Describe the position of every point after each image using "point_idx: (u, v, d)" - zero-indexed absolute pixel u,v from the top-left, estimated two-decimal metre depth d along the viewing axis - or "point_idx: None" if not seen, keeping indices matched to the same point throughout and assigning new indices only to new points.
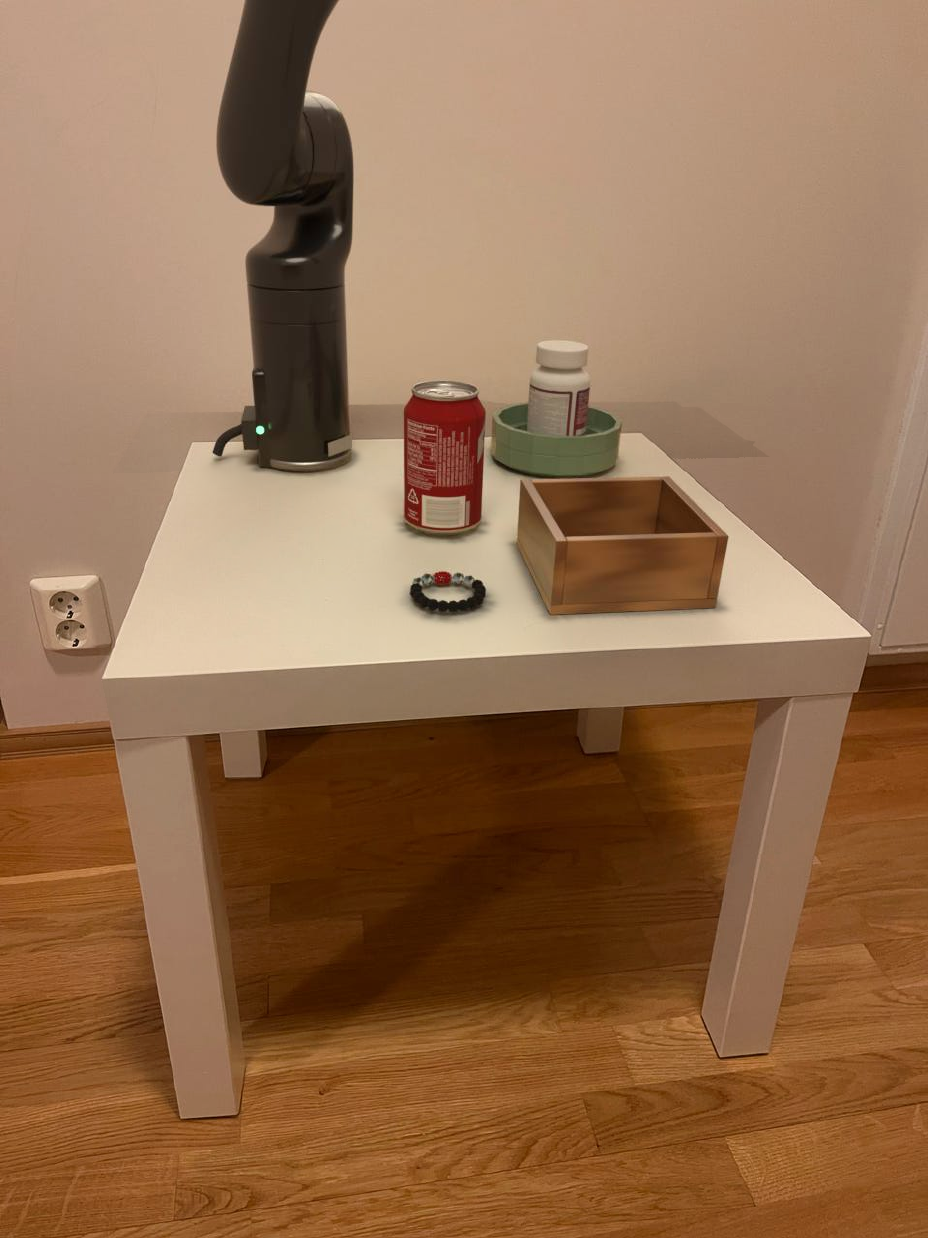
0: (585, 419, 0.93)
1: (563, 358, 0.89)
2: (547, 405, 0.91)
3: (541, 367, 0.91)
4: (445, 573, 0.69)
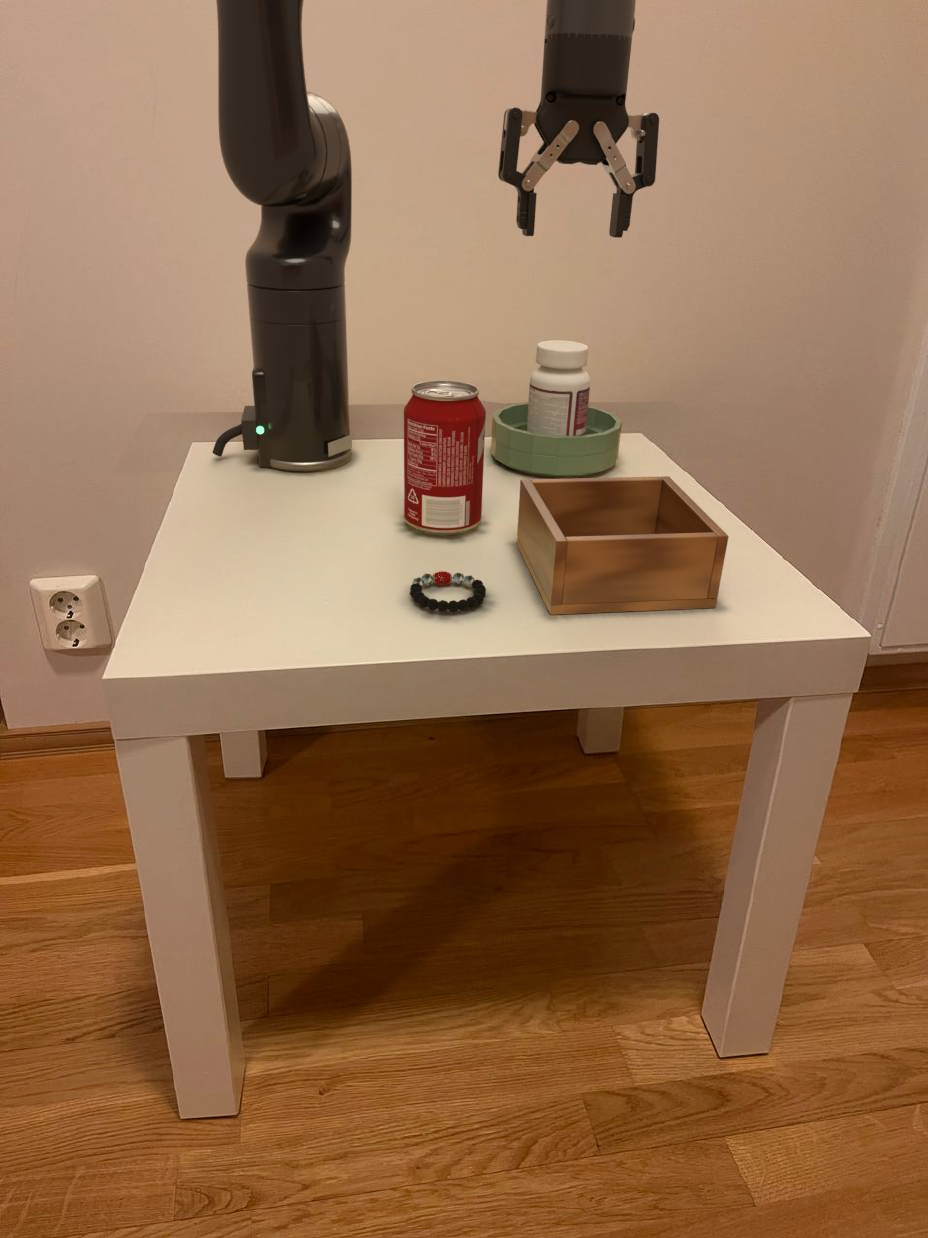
0: (585, 419, 0.93)
1: (563, 358, 0.89)
2: (547, 405, 0.91)
3: (541, 367, 0.91)
4: (445, 573, 0.69)
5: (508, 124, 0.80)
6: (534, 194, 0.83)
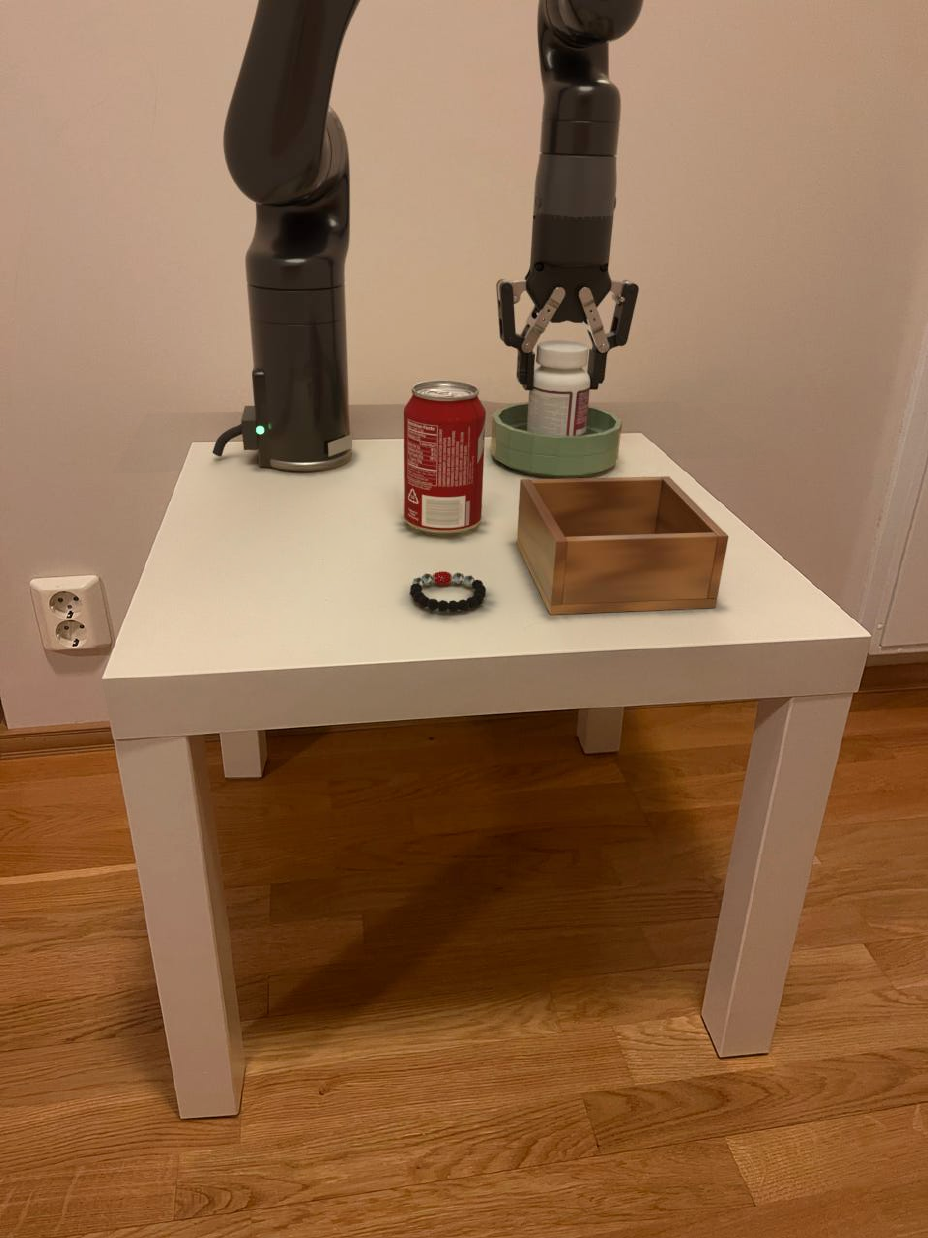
0: (585, 419, 0.93)
1: (563, 358, 0.89)
2: (547, 405, 0.91)
3: (541, 367, 0.91)
4: (445, 573, 0.69)
5: (501, 298, 0.87)
6: (533, 355, 0.90)
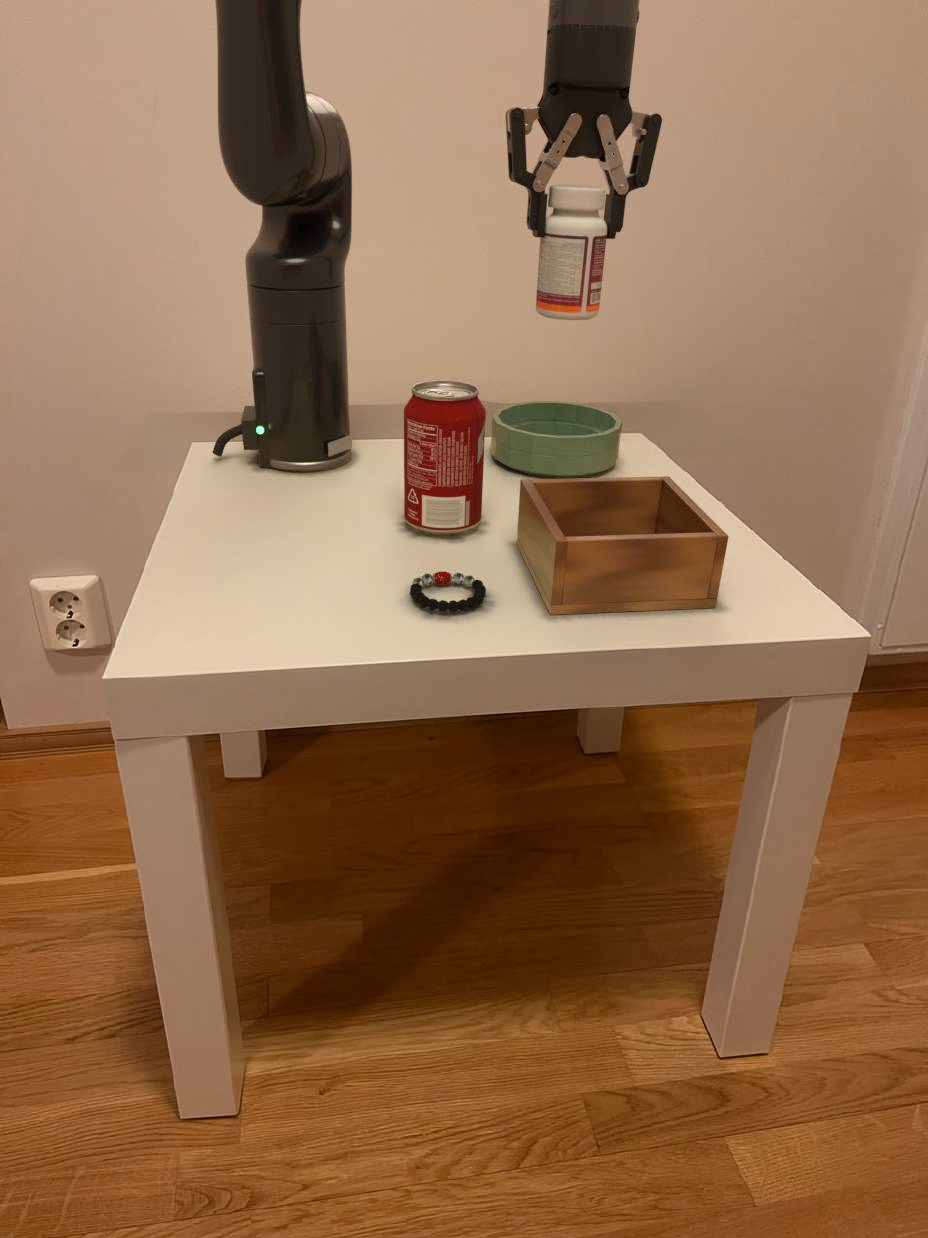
0: (601, 272, 0.85)
1: (578, 197, 0.81)
2: (561, 253, 0.83)
3: (554, 212, 0.83)
4: (445, 573, 0.69)
5: (511, 125, 0.79)
6: (545, 195, 0.82)
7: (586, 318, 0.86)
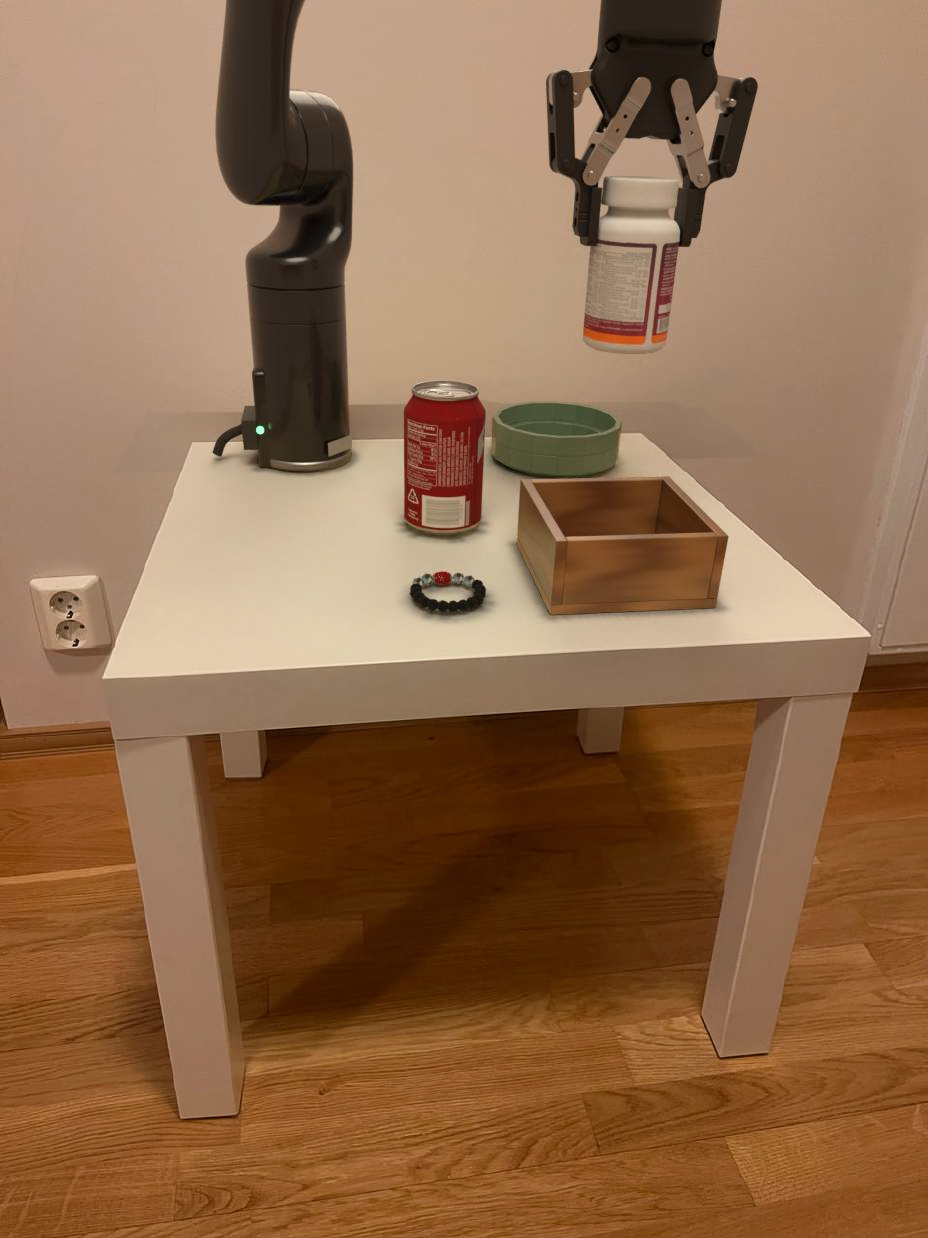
0: (671, 291, 0.64)
1: (645, 191, 0.60)
2: (619, 267, 0.62)
3: (609, 211, 0.63)
4: (445, 573, 0.69)
5: (555, 95, 0.58)
6: (599, 189, 0.61)
7: (651, 351, 0.65)
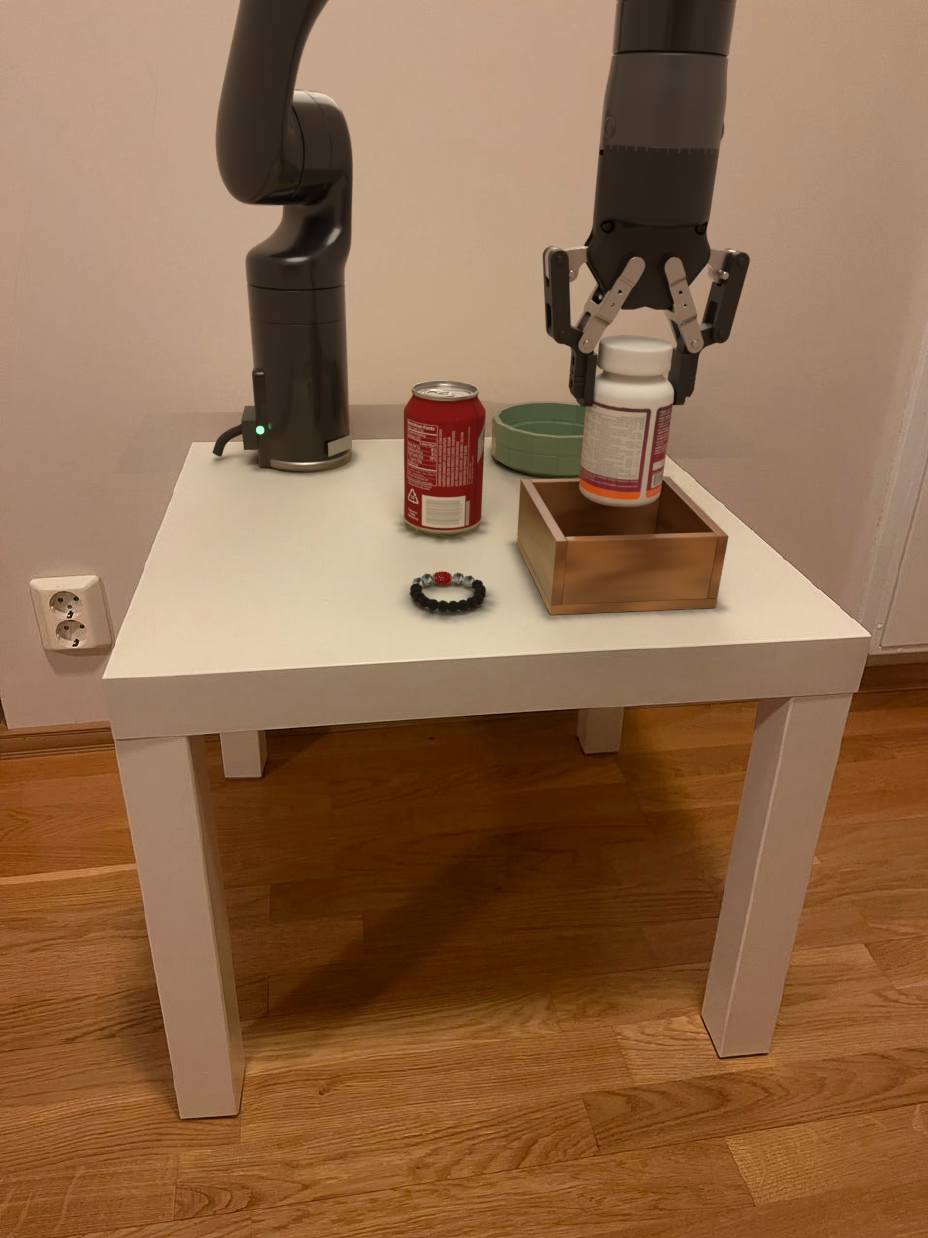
0: (665, 447, 0.66)
1: (639, 361, 0.61)
2: (614, 429, 0.63)
3: (605, 374, 0.64)
4: (445, 573, 0.69)
5: (551, 273, 0.59)
6: (594, 357, 0.62)
7: (645, 504, 0.67)
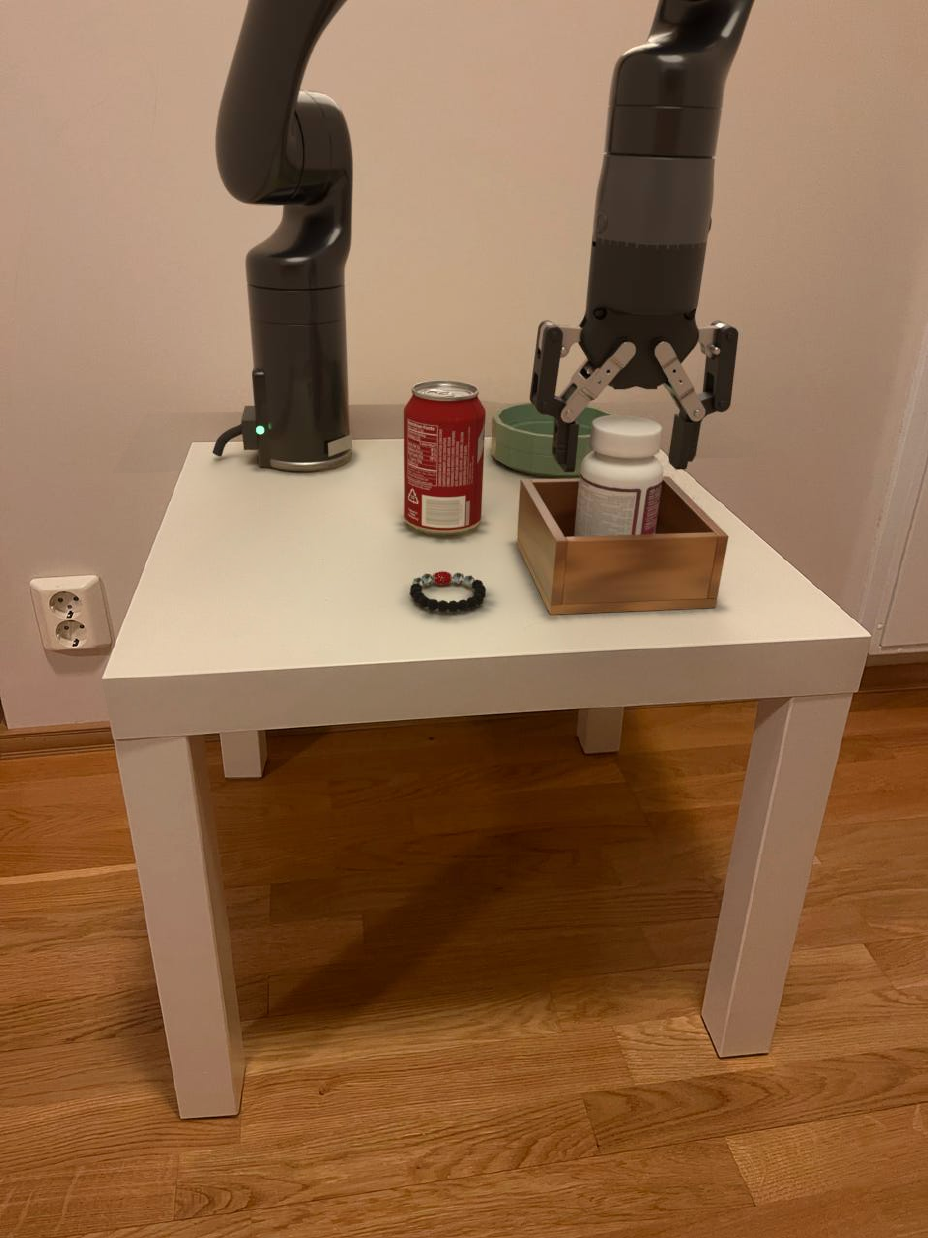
0: (655, 522, 0.68)
1: (629, 444, 0.64)
2: (606, 507, 0.66)
3: (597, 453, 0.67)
4: (445, 573, 0.69)
5: (544, 346, 0.61)
6: (576, 426, 0.64)
7: None
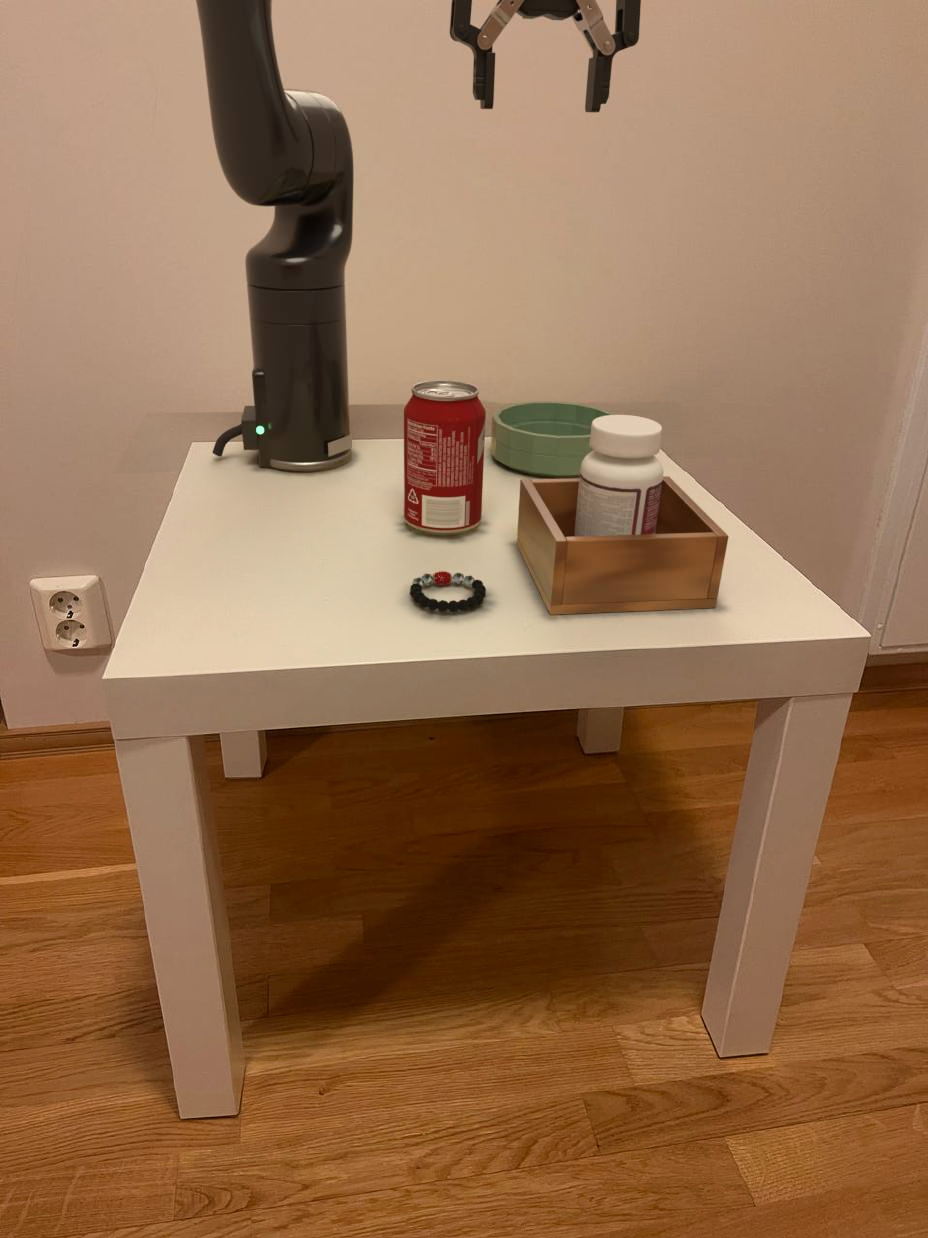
0: (655, 522, 0.68)
1: (629, 444, 0.64)
2: (606, 507, 0.66)
3: (597, 453, 0.67)
4: (445, 573, 0.69)
5: None
6: (492, 54, 0.68)
7: None
